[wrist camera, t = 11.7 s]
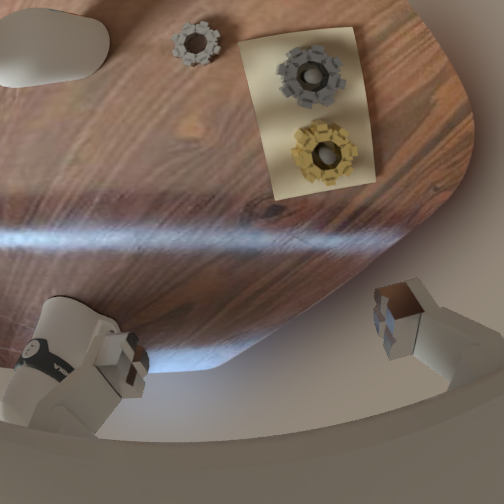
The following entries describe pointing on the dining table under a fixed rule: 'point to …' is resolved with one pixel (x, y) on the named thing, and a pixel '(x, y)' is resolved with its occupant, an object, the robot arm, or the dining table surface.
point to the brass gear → (320, 169)
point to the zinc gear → (190, 32)
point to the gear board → (296, 117)
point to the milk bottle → (49, 47)
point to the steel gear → (327, 68)
